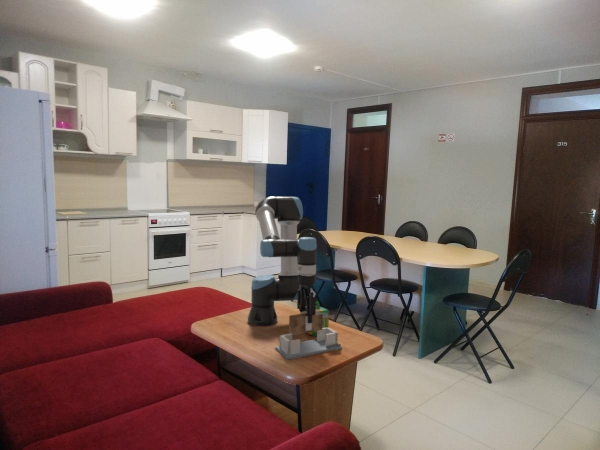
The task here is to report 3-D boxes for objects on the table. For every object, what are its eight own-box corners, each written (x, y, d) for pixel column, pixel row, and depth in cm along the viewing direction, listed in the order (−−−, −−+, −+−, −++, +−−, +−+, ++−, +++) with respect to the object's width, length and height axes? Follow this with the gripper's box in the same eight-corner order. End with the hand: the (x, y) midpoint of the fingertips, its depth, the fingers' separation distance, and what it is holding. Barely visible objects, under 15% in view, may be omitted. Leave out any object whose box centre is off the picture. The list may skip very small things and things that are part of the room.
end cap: (316, 340, 179) (317, 328, 178) (327, 338, 181) (327, 327, 181) (326, 347, 172) (326, 334, 171) (337, 344, 174) (337, 332, 174)
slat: (293, 334, 165) (293, 318, 165) (289, 331, 169) (289, 315, 168) (322, 329, 172) (322, 313, 171) (317, 327, 175) (317, 311, 175)
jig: (275, 348, 171) (275, 334, 171) (326, 339, 184) (327, 325, 183) (287, 359, 161) (288, 344, 160) (341, 348, 173) (342, 334, 173)
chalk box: (313, 337, 186) (314, 306, 185) (302, 331, 193) (302, 301, 192) (329, 333, 191) (330, 303, 190) (317, 327, 199) (318, 298, 197)
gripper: (289, 271, 174) (288, 323, 176) (309, 278, 159) (307, 336, 161) (304, 269, 178) (303, 321, 179) (325, 277, 163) (323, 333, 164)
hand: (305, 328), depth 170 cm, fingers closed on slat, 4 cm apart
